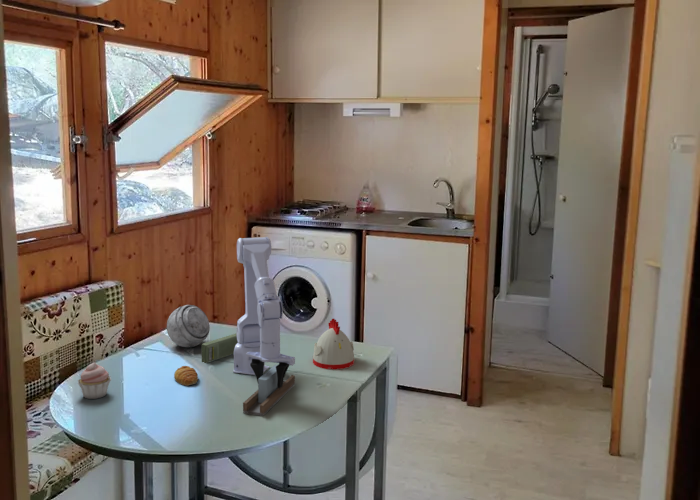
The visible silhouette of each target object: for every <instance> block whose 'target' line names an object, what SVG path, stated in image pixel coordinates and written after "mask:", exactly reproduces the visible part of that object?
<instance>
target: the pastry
mask: <svg viewBox="0 0 700 500" xmlns="http://www.w3.org/2000/svg"><path fill="white" fill-rule="evenodd" d="M173 376H174V377H173V378H174V380H175V382H177V383H178V384H180V385H182V386H186V387H187V386H191V385H195V384H197V382H198V380H199V375H198V372H197V371H196V369H195V368H194V367H191V366H188V365H181V367H177V369H176V370H175V372H174V374H173Z"/></svg>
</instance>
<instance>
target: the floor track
mask: <svg viewBox="0 0 700 500" xmlns="http://www.w3.org/2000/svg"><path fill="white" fill-rule="evenodd" d="M294 386H296V375H294V374H291V375H290V376H288V378H287V379H286V380H283V386H282V387H281V388H278V389H277V390H275V391H274V392H273V393H272V394H271V395H270V396H269V397H268V398H267V399H266V400H265V401H264V402H263V403H258V389H257V390H256V391H255V392H254V393H252V395H250V396H249V397H248V398H247V399H245V401H243V402H242V411H243V412H242V413H243V414H245V415H246V414H248V415H253V416H254V415H255V416H260V417H264V416H265V415H266V414H267V413H268V412H269V411H270V410H271V409H272V408H273V407H274V406H275V405H276V404H277V403H278V402H279V401H280V400H281V399H283V397H284V396H285V395H286V394H287V393H288V392H289V391H291V389H292V388H293V387H294Z"/></svg>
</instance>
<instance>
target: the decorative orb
mask: <svg viewBox="0 0 700 500" xmlns="http://www.w3.org/2000/svg"><path fill="white" fill-rule="evenodd" d="M210 325H211V324H210V322H209V319H208V316H207V315H206V313H205V312H204V311H203V310H202V309H201V308H200V307H198V306H196V305H193V304H185V305H182V306H179V307H178V308H176V309H174V310H173V311H172V312H171V314H170V315H169V316H168V319H167V322H166V331H167V335H168V337H169V339H170V340H171V341H172V342H173V344H175V345H177V346H179V347H182V348H193V347H197V346H199V345H200V344H203V342H204V341H205V340H206V339H207V338H208V336H209V335H210V331H211V326H210Z"/></svg>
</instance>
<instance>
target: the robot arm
mask: <svg viewBox="0 0 700 500" xmlns="http://www.w3.org/2000/svg"><path fill="white" fill-rule="evenodd" d="M271 254H272V242H271V239H270V238H269V236H264V237H263V236H262V237H244V238H242V237H239V238H238V239H237V241H236V259H237V262H238V263H240V264H243V265H242V266H243V269H244V270H243V271H244V273H243V274H244V301H245V313H244V315H242V316H241V317H240V318H239V319H237V323H236V332H235V333H237V341H238V343H237V344H236V346H235V348H234V354H233V370H232V372H233V373H234V374H235V373H237V374H245V375H252V376H255V377H256V382H257V383H258V379H259V378H260V377H261V376H262V375H264V374H265V373H266V372H267V371H268V370H269V369H270V366H269V365H266V364H265V363H276V365H277V366H276V371H277V386H278V388H281V387H282V386H283V381H285V376H286V374H287V371H288V368H289V367H290V366H291V367H292V366H294V365H295V364H296V358H295V356H290V355H287V354H284V353H281V320H282V318H283V316H284V314H283V312H284V311H283V310H284V308H283V303H282V300H281V298H280V296H279V295H278V294H277V289H276V287H275V286H276V285H275V282H274V280H273V279H272V278H270V277H269V267H268V261H267V260H270V256H272V255H271Z"/></svg>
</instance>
